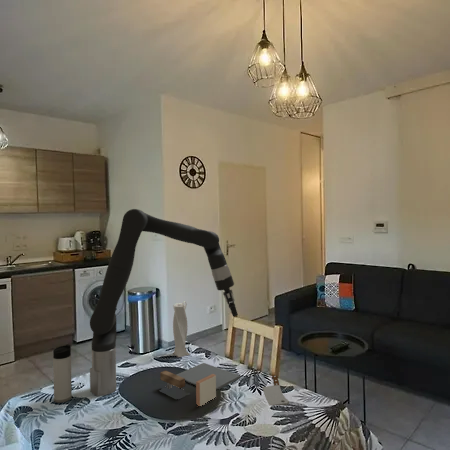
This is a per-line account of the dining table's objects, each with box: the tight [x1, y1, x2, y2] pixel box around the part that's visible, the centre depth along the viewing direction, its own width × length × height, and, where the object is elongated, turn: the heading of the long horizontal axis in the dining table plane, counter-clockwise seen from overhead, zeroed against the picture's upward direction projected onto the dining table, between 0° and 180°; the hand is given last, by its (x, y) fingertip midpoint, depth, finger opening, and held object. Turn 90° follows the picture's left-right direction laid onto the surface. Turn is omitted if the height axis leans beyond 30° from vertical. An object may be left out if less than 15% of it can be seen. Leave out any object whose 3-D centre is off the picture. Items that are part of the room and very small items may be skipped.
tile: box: [195, 374, 217, 407], centre depth 137 cm, size 9×2×9 cm, turn 139°
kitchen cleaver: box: [262, 374, 290, 406], centre depth 146 cm, size 24×1×10 cm
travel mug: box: [52, 344, 73, 404], centre depth 140 cm, size 6×7×20 cm
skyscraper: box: [172, 300, 191, 358], centre depth 185 cm, size 8×8×28 cm
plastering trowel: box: [159, 370, 186, 389], centre depth 145 cm, size 13×7×7 cm, turn 49°
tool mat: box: [176, 362, 241, 390], centre depth 158 cm, size 18×22×1 cm
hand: (234, 312), depth 154 cm, fingers open, 8 cm apart
